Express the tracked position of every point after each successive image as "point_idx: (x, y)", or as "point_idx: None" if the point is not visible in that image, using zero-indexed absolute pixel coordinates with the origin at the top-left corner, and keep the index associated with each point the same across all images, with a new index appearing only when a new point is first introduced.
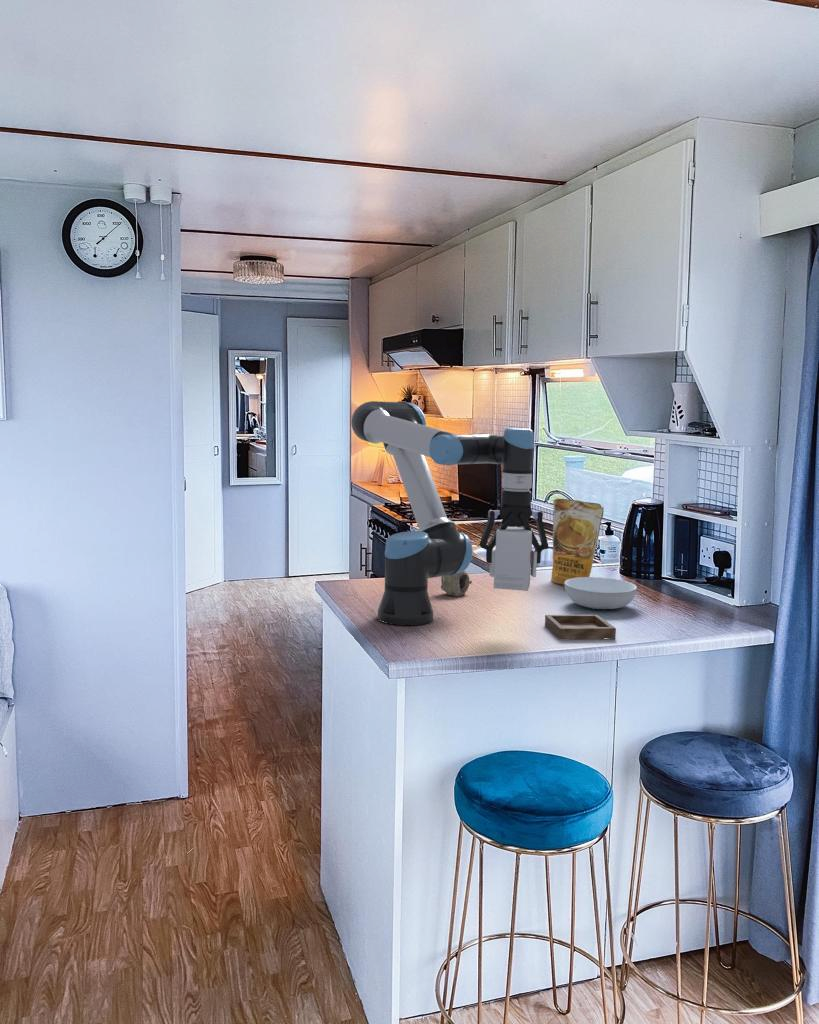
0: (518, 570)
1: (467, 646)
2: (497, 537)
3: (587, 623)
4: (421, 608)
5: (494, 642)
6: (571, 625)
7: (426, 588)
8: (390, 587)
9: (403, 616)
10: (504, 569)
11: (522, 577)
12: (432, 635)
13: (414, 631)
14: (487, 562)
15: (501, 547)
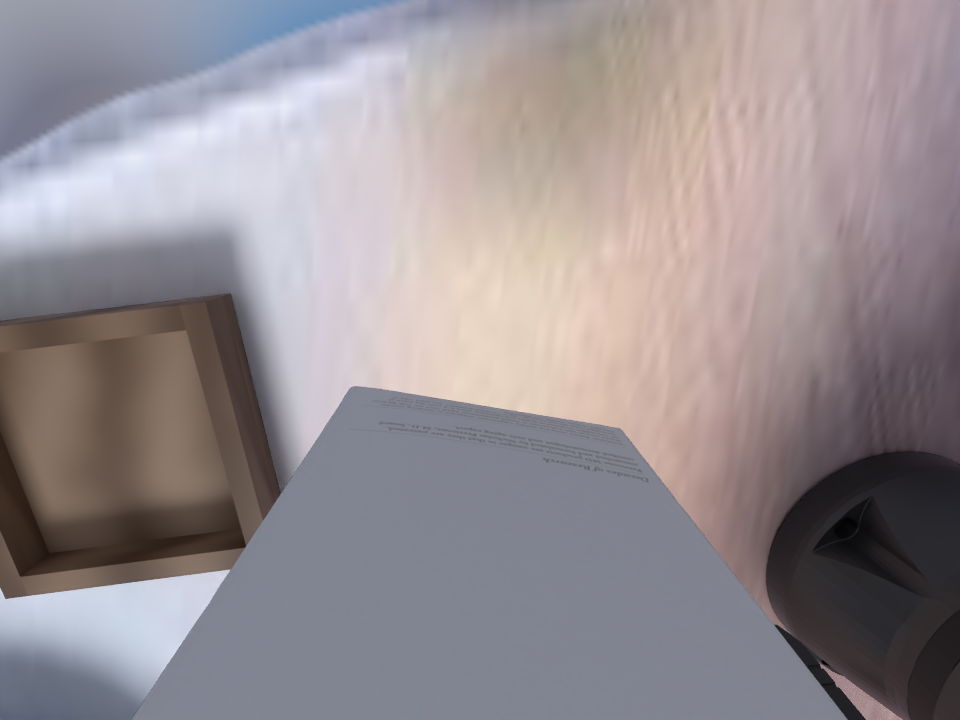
0: (425, 469)
1: (693, 131)
2: None
3: (82, 541)
4: (890, 523)
5: (554, 216)
6: (160, 499)
7: (931, 650)
8: None
9: (950, 472)
10: (585, 495)
11: (384, 431)
12: (818, 315)
13: (882, 373)
14: (784, 633)
15: None
